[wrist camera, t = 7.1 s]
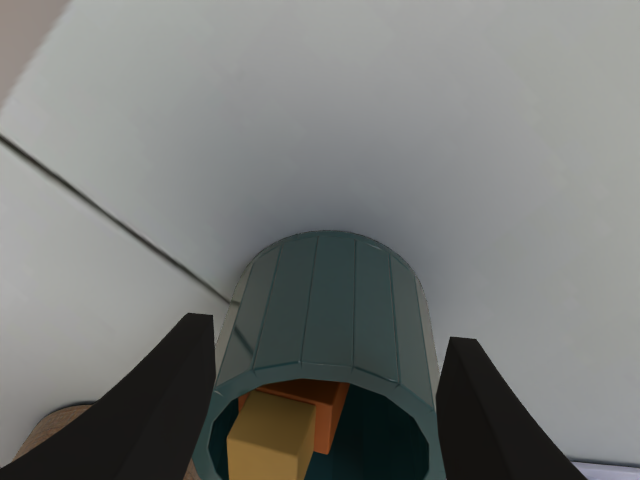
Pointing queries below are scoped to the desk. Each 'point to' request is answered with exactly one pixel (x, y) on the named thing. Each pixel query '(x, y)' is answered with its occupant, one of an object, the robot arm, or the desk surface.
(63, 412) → the vase
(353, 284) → the cup
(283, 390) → the tan orange collared block
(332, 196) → the desk surface
